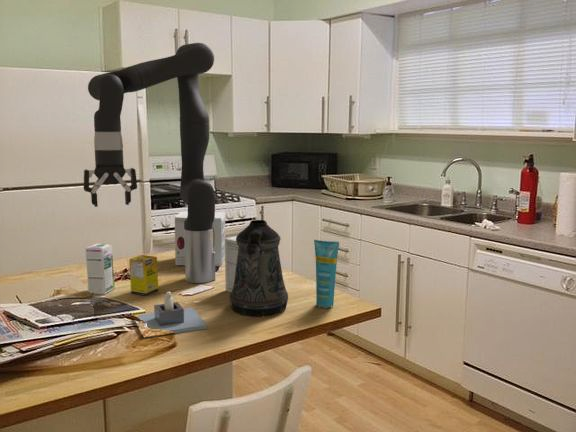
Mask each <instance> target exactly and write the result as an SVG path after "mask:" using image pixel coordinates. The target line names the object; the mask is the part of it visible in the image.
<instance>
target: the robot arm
mask: <svg viewBox="0 0 576 432" xmlns="http://www.w3.org/2000/svg"><path fill="white" fill-rule="evenodd" d="M214 64H215V55H214V52H213V50H212V48H211V46H208V45H207V44H205V43H202V42H193V43H188V44H187V43H186V44H183V45H181V46H179V47H178V49H177V50H176V52H175V54H174V55H170V56H166V57H161V58H156V59H151V60H148V61H144V62H140V63H137V64H133V65H130V66H127V67H124V68H122V69H118V70H115V71H109V72H105V73H104V72H103V73H101V74H98V75H95V76H93V77H92V78H91V79H89V81H88V84H87V89H88V90H87V91H88V93H89V95H90V97H92V98H93V99H94V100H97V101H99V102H98V103H99V104H98V109H97V110H96V111H95V112H94V114H93V123H94V125H93V126H94V135H93V137H94V138H93V141H94V142H93V143H94V144H93V145H94V159H95V160H94V161H95V163H94V165H95V166H94V167H95V168H94V169H84V170H83V190H84V192H88V193H90V196H91V197H90V199H91V204H92V206H94V207H95V208H96V207H97V208H98V193H97V191H98V190H99V189H100V188H101V186H102V185H106V186H108V185H117V184H120V185H121V186H122V188H124V190H125V191H124V200H125V201H124V202H125V205H126V206H127V205H130V203H131V202H132V191H134V190H136V189H138V182H137V172H136V169H135V168H133V167H130V168H127V169H126V168H125V165H124V143H123V135H122V124H121V123H122V121H121V114H122V109H123V105H124V97H125V94H126V93H127V94H128V93H135V92H139V91H142V90H144V89H148V88H150V87H153V86H157V85H159V84H161V83H165V82H167V81H169V80H172V79H176V78H177V87H178V104H179V105H178V106H179V134H180V135H179V137H180V156H181V157H180V158H181V174H180V175H181V176H180V186H179V188H180V189H179V195H180V198H181V200H182V202H183V203H184V204H185V205H186V206H187V211H188V216H187V219H186V220H185V221H184V243H185V265H184V272H185V273H184V276H185V279H184V280H185V281H186V282H188V283H192V284H202V283H203V284H205V283H210V282H211V281H216V266H215V252H214V251H213V222H214V218H215V212H216V192H215V189H214V187H213V185H212V183H210V182H207V181H206V180H205V175H204V161H205V156H206V153H207V150H208V146H209V142H210V119H209V118H210V117H209V113H208V110H207V108H206V105H205V104H204V101H203V99H202V96H201V94H200V85H199V76H200V74H201V75H202V74H205V73H207V72H209V71H210V70H211V69H212V67H213V66H214ZM126 174H127V176H129V177H130V183H131V185H128V184H127V183H126V181H125V180H124V179H123V178H124V176H125V175H126ZM93 175H95V176H96V178H97V179H96V181H95V183H94V184H93V186H91V187H90V179H91V178H92V177H93Z"/></svg>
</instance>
